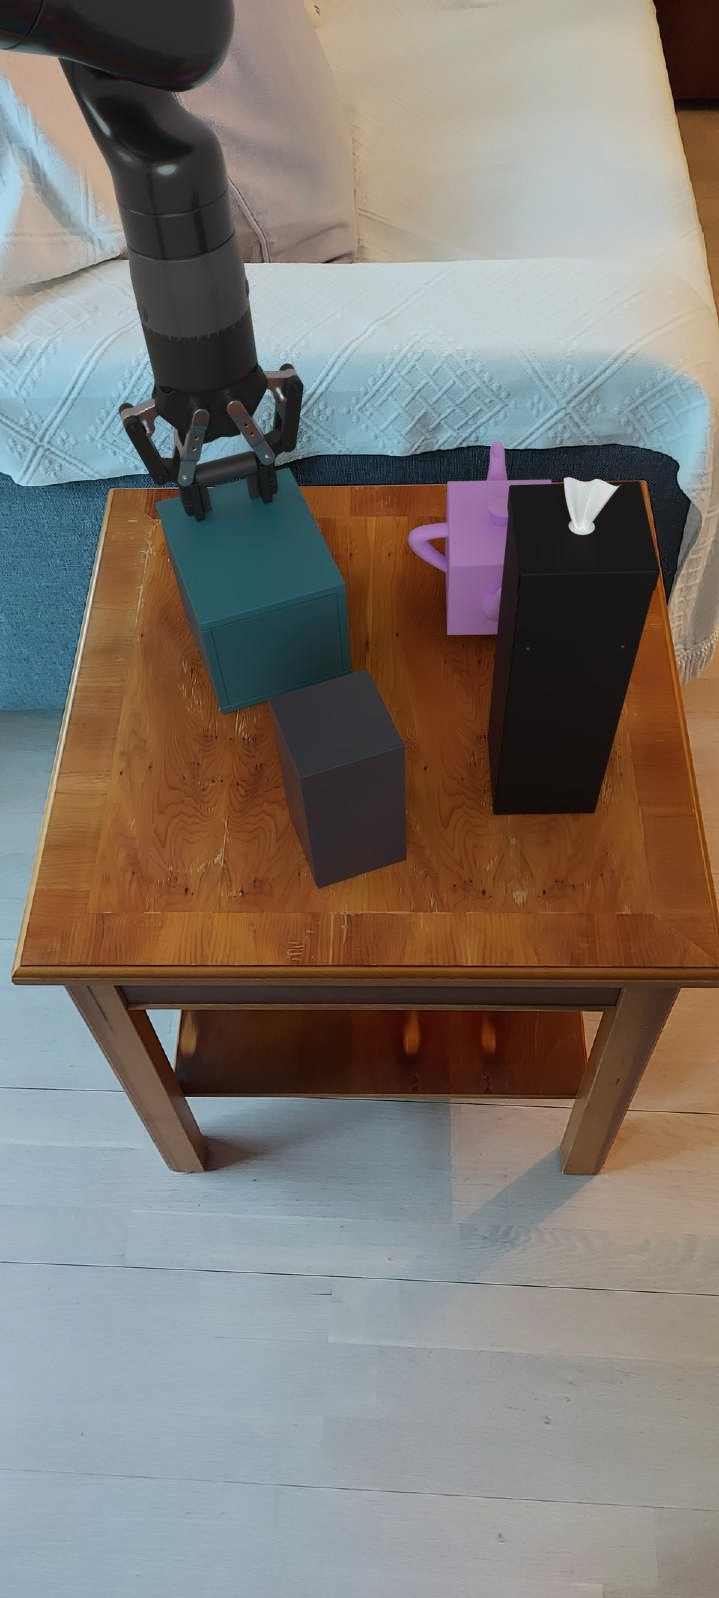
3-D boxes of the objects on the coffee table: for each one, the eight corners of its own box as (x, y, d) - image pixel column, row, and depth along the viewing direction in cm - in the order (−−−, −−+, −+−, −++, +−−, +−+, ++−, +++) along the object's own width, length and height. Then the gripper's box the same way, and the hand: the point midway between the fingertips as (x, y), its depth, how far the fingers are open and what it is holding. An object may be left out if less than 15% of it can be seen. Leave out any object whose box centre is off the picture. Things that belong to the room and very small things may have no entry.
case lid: (156, 509, 83) (143, 459, 79) (290, 474, 85) (284, 424, 80) (201, 631, 75) (189, 583, 71) (346, 590, 77) (343, 541, 73)
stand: (317, 889, 74) (299, 778, 62) (289, 815, 77) (267, 698, 66) (406, 859, 75) (404, 745, 63) (374, 788, 78) (367, 668, 67)
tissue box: (595, 815, 76) (673, 524, 53) (491, 817, 76) (524, 528, 53) (583, 734, 80) (650, 432, 57) (485, 736, 81) (513, 437, 58)
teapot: (610, 612, 88) (632, 513, 79) (500, 689, 84) (509, 594, 75) (490, 526, 95) (498, 427, 86) (382, 593, 91) (379, 495, 82)
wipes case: (183, 606, 91) (160, 521, 83) (304, 572, 93) (293, 485, 85) (221, 714, 83) (201, 632, 75) (352, 675, 85) (346, 591, 77)
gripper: (278, 253, 71) (301, 457, 85) (79, 298, 69) (136, 500, 82) (311, 305, 67) (329, 511, 81) (99, 354, 64) (156, 558, 78)
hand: (231, 505), depth 81 cm, fingers closed on case lid, 5 cm apart
